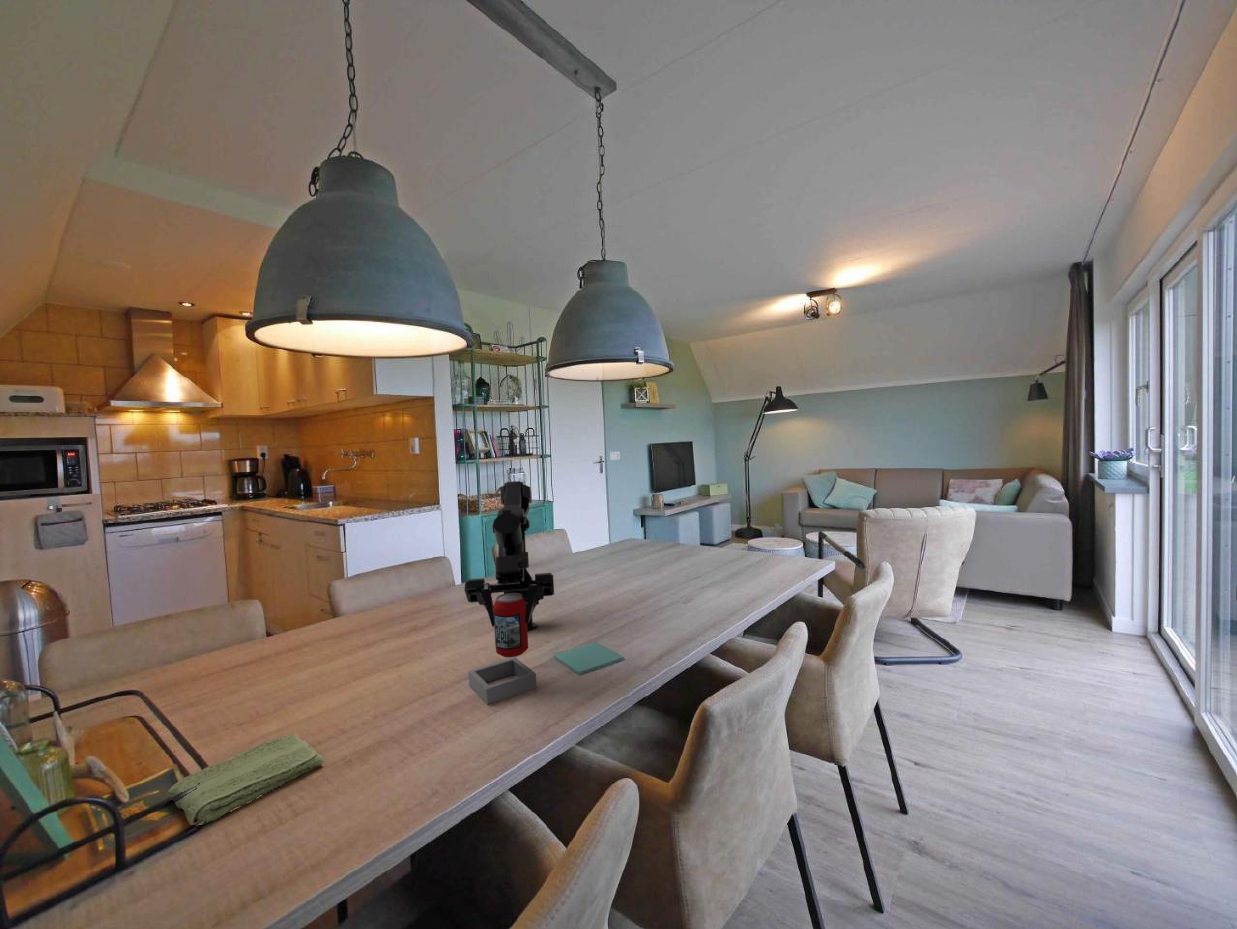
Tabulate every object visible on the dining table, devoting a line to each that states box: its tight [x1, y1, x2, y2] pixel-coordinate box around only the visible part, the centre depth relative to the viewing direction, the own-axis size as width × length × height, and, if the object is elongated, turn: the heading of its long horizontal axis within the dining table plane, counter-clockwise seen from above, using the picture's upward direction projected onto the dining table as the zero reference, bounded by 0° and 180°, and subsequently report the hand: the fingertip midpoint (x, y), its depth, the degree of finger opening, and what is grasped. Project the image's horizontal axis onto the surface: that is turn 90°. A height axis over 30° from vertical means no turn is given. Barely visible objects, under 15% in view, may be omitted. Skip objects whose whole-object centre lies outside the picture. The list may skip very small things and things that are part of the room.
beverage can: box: [493, 593, 529, 659], centre depth 109 cm, size 7×7×12 cm
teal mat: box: [552, 641, 625, 676], centre depth 121 cm, size 12×12×1 cm
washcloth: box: [166, 733, 325, 826], centre depth 81 cm, size 13×18×3 cm
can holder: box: [467, 657, 538, 705], centre depth 109 cm, size 11×11×3 cm
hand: (510, 624), depth 108 cm, fingers closed on beverage can, 7 cm apart
